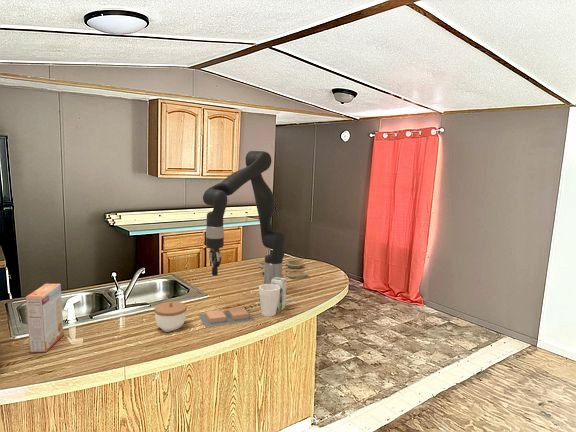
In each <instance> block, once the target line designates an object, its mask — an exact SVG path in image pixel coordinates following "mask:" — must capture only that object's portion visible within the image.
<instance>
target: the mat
mask: <svg viewBox="0 0 576 432" xmlns="http://www.w3.org/2000/svg"><path fill="white" fill-rule="evenodd" d="M244 309H245V310H246V311H247V312H248V314H249V318H248V319H243V320H236V321H233V320H232V319H231V317H230V316H229V315H228V310H222V311H223V313H224V314H225V316H226V322H221V323H214V324H210V323H209V321H208V320H207V318H206V313H200V314H199V313H198V314H197V315H198V317H199V319H200V322H202V324H203V327H204V328H212V327H218V326H224V325H231V324H238V323H247V322H253V321H256V319H255V318H254V317H253V315H252V314H251V313H250V312H249V311H248V310H247V308H244Z"/></svg>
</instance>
